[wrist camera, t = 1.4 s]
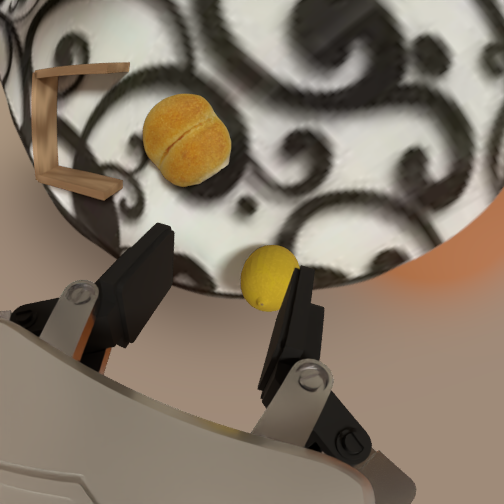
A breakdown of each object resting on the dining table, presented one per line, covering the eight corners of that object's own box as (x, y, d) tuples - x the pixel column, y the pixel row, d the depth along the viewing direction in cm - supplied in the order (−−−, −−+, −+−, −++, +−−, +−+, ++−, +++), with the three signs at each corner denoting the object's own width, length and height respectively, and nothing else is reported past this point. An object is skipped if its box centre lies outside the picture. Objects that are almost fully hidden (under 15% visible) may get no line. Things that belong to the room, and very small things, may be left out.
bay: (54, 67, 25) (32, 70, 22) (129, 62, 23) (107, 63, 20) (54, 171, 33) (36, 181, 30) (122, 188, 32) (104, 200, 29)
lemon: (314, 255, 31) (308, 307, 24) (280, 283, 34) (265, 336, 27) (274, 220, 30) (256, 266, 23) (242, 253, 33) (218, 301, 26)
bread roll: (193, 77, 24) (173, 78, 20) (248, 151, 27) (236, 162, 23) (137, 128, 28) (114, 136, 24) (185, 194, 31) (168, 209, 27)
